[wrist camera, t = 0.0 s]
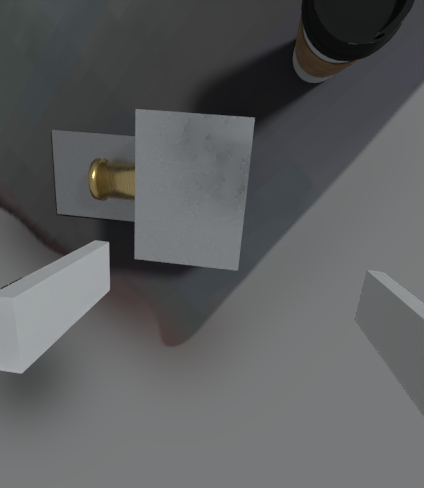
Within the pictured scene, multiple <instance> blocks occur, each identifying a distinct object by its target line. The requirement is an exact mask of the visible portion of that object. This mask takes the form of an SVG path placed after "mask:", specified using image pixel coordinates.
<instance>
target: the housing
mask: <svg viewBox="0 0 424 488" xmlns="http://www.w3.org/2000/svg"><path fill="white" fill-rule="evenodd" d="M254 122H255V118H254V117H240V116H226V115H212V114H198V113H183V112H169V111H155V110H141V109H136V125H135V136H122V135H110V134H97V133H84V132H71V131H59V130H52V143H53V158H54V172H55V187H56V202H57V214H65V215H75V216H84V217H94V218H104V219H114V220H124V221H133V222H135V259H139V260H148V261H157V262H166V263H175V264H184V265H193V266H202V267H211V268H220V269H229V270H237V271H238V265H239V256H240V247H241V238H242V229H243V220H244V211H245V202H246V194H247V185H248V176H249V167H250V158H251V149H252V140H253V131H254ZM96 158H105V159H107V160H108V161H109V162H116V163H128V164H135V201H132V200H121V199H111V198H108V199H107V200H105V201H101V200H96V199H94V198H93V196H92V195H91V192H90V189H89V184H88V174H89V168H90V165H91V163H92V162H93V160H94V159H96Z"/></svg>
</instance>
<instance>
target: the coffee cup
mask: <svg viewBox="0 0 424 488" xmlns="http://www.w3.org/2000/svg"><path fill="white" fill-rule="evenodd" d="M413 3H414V0H303V1H302V13H301V18H300V23H299V28H298V33H297V38H296V44H295V48H294V52H293V66H294V69H295V71H296V73H297V74H298V76H299V77H300V78H301V79H303V80H304V81H306V82H310V83H319V82H322V81H325V80H327V79H328V78H330V77H332V76H333V75H335V74H336V73H338V72H340V71H341V70H343V69H345V68H346V67H348V66H350V65H351V64H353V63H355V62H356V61H358V60H360V59H362V58H364V57H367V56H369V55H371V54H373V53H374V52H376V51H377V50H379V49H380V48H381V47H383V46H384V45H385V44H386V43H387V42H388V41H389V40H390V39H391V38H392V37H393V36H394V34H395V33H396V32H397V31H398V29H399V27H400V26H401V24H402V22H403V21H404V19H405V18H406V17H407V15H408V13H409V11H410V10H411V8H412V6H413Z"/></svg>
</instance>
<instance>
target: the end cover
mask: <svg viewBox="0 0 424 488" xmlns="http://www.w3.org/2000/svg"><path fill="white" fill-rule="evenodd" d="M88 184H89V189H90V192H91V195H92V196H93V198H94V199H96V200H101V201H105V200H107V199H108V198H111V199H121V200H132V201H135V164H128V163H116V162H109V161H108V160H107V159H105V158H96V159H94V160H93V162H92V163H91V165H90V168H89V174H88Z"/></svg>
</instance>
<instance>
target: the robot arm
mask: <svg viewBox="0 0 424 488" xmlns="http://www.w3.org/2000/svg"><path fill="white" fill-rule="evenodd" d="M109 290H110V268H109V242H104V241H93V242H91V243H89V244H87V245H85V246H84V247H82V248H80V249H78V250H76V251H74V252H72V253H70V254H68V255H66V256H64V257H62V258H60V259H59V260H57V261H55V262H53V263H51V264H49V265H47V266H45V267H43V268H41V269H39V270H37V271H35V272H33V273H32V274H30V275H28V276H26V277H23V278H20V279H18V280H16V281H14V282H12V283H10V285H6V286H4V287H2V288H1V289H0V370H1V371H8V372H16V373H23V372H24V371H25V370H26V369H27V368H28V367H29V366H30V365H31V364H32V363H34V362H35V360H37V359H38V358H39V357H40V356H41V355H42V354H43V353H44V352H45V351H46V350H47V349H48V348H49V347H50V346H51V345H52V344H54V342H56V340H58V339H59V338H60V337H61V336H62V335H63V334H64V333H65V332H66V331H67V330H68V329H69V328H70V327H71V326H72V325H73V324H75V323H76V322H77V321H78V320H79V319H80V318H81V317H82V316H83V315H84V314H85V313H86V312H87V311H88V310H89V309H90V308H91V307H92V306H94V305H95V304H96V303H97V302H98V301H99V300H100V299H101V298H102V297H103V296H104V295H105V294H106V293H107V292H108V291H109ZM355 321H356V323H357V324H358V325H359V326H360V328H361V330H362V331H363V332H364V334H365V335H366V336H367V338H368V339H369V340H370V342H371V343H372V345H373V346H374V348H375V349H376V350H377V352H378V353H379V355H380V356H381V357H382V359H383V360H384V362H385V363H386V364H387V366H388V367H389V369H390V370H391V371H392V373H393V374H394V376H395V377H396V378H397V380H398V381H399V382H400V384H401V385H402V387H403V388H404V390H405V391H406V392H407V394H408V395H409V397H410V398H411V399H412V401H413V402H414V403H415V405H416V406H417V407H418V409H419V411H420V412H421V413H422V415H423V416H424V303H422V302H421V301H420V300H418V299H417V298H416V297H415V296H413V295H412V294H411V293H409V292H408V291H407V290H405V289H404V288H403V287H402V286H400V285H399V284H397V282H395V281H394V280H393V279H391V278H390V277H389V276H387V275H386V274H385V273H384V272H378V271H369V270H367V271H366V275H365V280H364V284H363V288H362V292H361V296H360V300H359V304H358V309H357V312H356V316H355Z"/></svg>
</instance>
